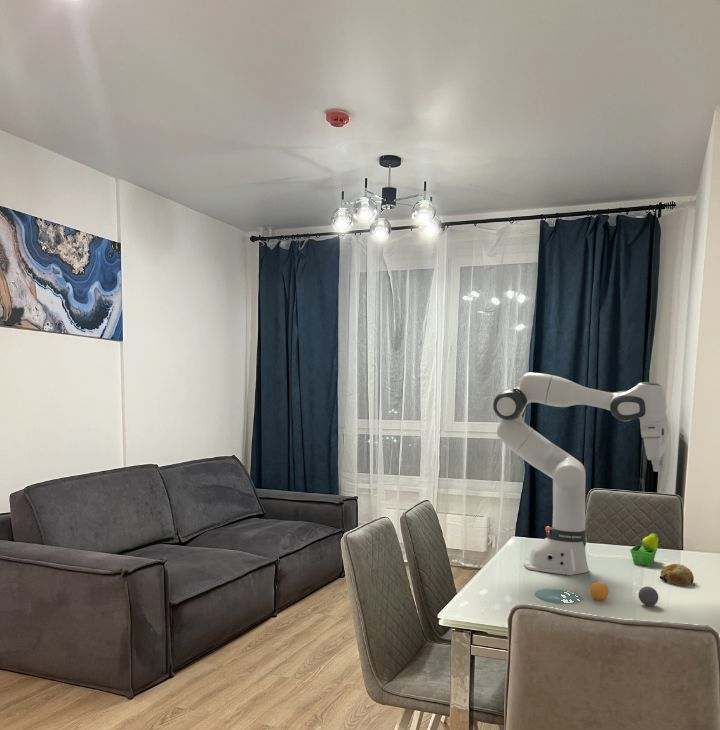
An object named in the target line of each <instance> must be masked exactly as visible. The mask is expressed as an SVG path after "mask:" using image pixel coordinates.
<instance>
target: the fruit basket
mask: <svg viewBox="0 0 720 730" xmlns="http://www.w3.org/2000/svg"><path fill="white" fill-rule="evenodd" d="M641 543H642V544H641V545H640V544H639V545H638V544H636V545H635V546H634V547H632V548H631V549H629V552H630V553H631V558H632V561H633V564H634V563H637V564H636V565H640V564H643V565H642V566H646V565H649V564H652V563H654V560H655V558H656V555H657V551H658V545H659V544H658V543H659V537H658V535H657V534H656V533H653V532H652V533H650V534H649V535H648V536H645V537H644V538H643V539H642V541H641ZM649 566H650V565H649Z"/></svg>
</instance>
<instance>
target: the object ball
mask: <svg viewBox="0 0 720 730" xmlns="http://www.w3.org/2000/svg"><path fill="white" fill-rule="evenodd" d="M609 592H610V591H609V588H608V586H607V585H606V584H605V583H603V582H601V581H596V582H593V583H592V584H591V585H590V587H589V594H590V596H591V597H592V598H593V599H594V600H595V601H597V602H604V601H605V600H607V598H608V597H609V594H610V593H609Z"/></svg>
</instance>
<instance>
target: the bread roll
mask: <svg viewBox="0 0 720 730" xmlns="http://www.w3.org/2000/svg"><path fill="white" fill-rule="evenodd" d="M659 574H660V575H659V579H660V580H663V581H664V582H663V581H662V582H663V583H666V584H668V583H669V585H672V584H673V585H672V586H679V587H689V585H691V586H690V587H692V585H693V586H694V580H695V579H694V578H695V577H694V574H693V571H691V569H690V568H688V567H687V566H685V565H683V564H680V563H671V564H669V565H666V566H665V567H664V568H663V569H662V570H660V573H659Z"/></svg>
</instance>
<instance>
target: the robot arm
mask: <svg viewBox="0 0 720 730" xmlns="http://www.w3.org/2000/svg"><path fill="white" fill-rule="evenodd" d="M665 394H666V393H665V390H664V388H663V386H662V385H661V384H659V383H657V382H651V381H642V382H641V381H640V382H638V383H637V384H636V385H635V386H633V387H631V388H630V389H628V390H620V391H615V392H611V391H605V390H601V389H596V388H595V389H594V388H589V387H586V386H583V385H581V384H578V383H576V382H574V381H572V380H569V379H567V378H564V377H561V376H559V375H553V374H548V373H541V372H526V373H524V374H523V375H522V376H521V377H520V379H519V381H518V385H517V386H516V387H510V388H507V389H503V390H501V391H500V392H499V393H497V395H496V396H495V398H494V399H493V403H492V404H493V405H492V407H493V411H494V413H495V414H496V416H497V417H498V418H500V419H501V422H500V423H499V424H498V425H497V430H496V434H497V437H498V438H499V439H500V441H502V443H503V444H504V445H505V446H507V448H509V449H510V450H511V451H512V452H513V453H515V454H516V455H518V457H520V458H522V459H523V460H524V461H525V462H527V463H528V464H529V465H530V466H532V467H533V468H535V469H537V470H538V471H540V472H542V473H543V474H545V475H547V477H549V478H551V479H552V526H551V527H550V526H549V525H548V526H545V529H544V530H545V532H546V537H545V538H544V539H542V540H541V541H539V542H537V543H536V544H535V545H533V547H532V548H531V550H530V555H529V557H527V558H525V559H524V561H523V566H524V568H526V569H527V570H531V571H539V572H545V573H550V574H551V573H552V574H559V575H565V574H566V576H574V575H578V574H586V573H588V572H589V571H590V569H589V565H588V560H587V556H586V555H587V553H586V546H587V530H586V526H585V525H586V478H587V477H586V476H587V475H586V468H585V466H584V465H583V463H582V462H581V461H579V460H578V459H576V458H575V457H574V456H572V455H571V454H570V453H568V452H566V451H565V450H564V449H562V448H561V447H560V446H558V445H556V444H555V443H553V442H551V441H550V440H549V439H547V438H546V437H545V436H543V435H542V434H541V433H539V432H538V431H536V430H535V429H534V428H533V427H531V426H530V425H528V424H527V423H526V422H525V421H524V419H523V418H524V416H525V414H526V410H527V408H528V404H531V403H537V404H541V405H546V406H551V407H557V408H558V407H559V408H568V407H571V406H572V407H573V406H576V405H580V406H581V405H583V406H590V407H595V408H599V409H603V410H607V411H610V413H611V416H613V418H615V419H616V420H617V421H621V422H629V421H633V420H636V419H639V423H640V424H639V425H640V426H639V427H640V435H641V438H643V446H644V450H645V455H646V459H647V460H648V461H651V465H652V470H653V472H655V473H656V472H657V473H658V472H660V468H661V467H663V466H664V454H665V452H666V451H667V443H666V442H667V441H666V435H668V434H670V428H669V419H668V416H667V412H666V411H667V401H666V399H667V398H666V395H665Z"/></svg>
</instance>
